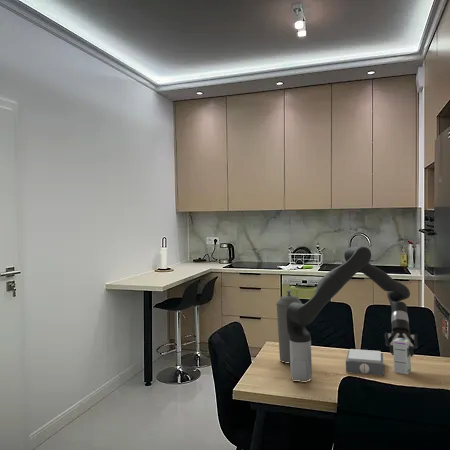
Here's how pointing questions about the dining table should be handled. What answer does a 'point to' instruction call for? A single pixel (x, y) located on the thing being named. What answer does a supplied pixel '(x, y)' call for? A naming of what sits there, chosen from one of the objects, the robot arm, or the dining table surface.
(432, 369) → the dining table surface
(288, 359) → the canister
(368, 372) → the kitchen scale
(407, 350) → the syrup box
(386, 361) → the dining table surface
